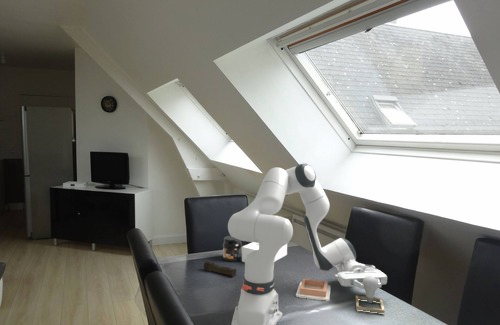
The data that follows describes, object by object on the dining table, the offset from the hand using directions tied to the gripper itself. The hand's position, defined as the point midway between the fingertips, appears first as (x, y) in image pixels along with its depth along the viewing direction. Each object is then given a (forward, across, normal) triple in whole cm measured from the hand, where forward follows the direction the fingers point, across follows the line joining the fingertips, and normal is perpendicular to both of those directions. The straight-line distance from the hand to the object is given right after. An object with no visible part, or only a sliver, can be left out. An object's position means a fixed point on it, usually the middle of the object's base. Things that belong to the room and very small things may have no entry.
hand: (371, 286), depth 141 cm
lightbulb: (-1, 0, +8) cm, 8 cm away
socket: (-17, -18, +9) cm, 26 cm away
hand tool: (-45, -58, +10) cm, 74 cm away
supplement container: (-65, -49, +10) cm, 81 cm away
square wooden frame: (-1, 0, +9) cm, 9 cm away
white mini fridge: (-64, -30, +10) cm, 71 cm away
